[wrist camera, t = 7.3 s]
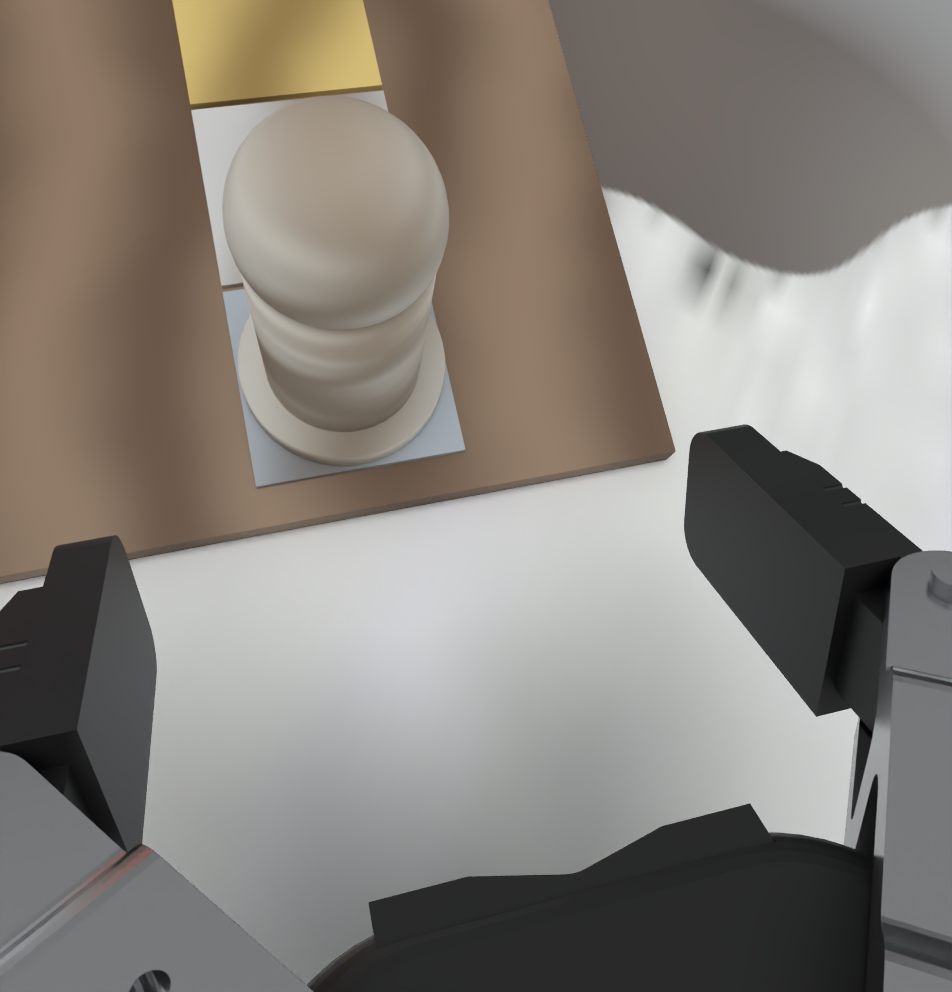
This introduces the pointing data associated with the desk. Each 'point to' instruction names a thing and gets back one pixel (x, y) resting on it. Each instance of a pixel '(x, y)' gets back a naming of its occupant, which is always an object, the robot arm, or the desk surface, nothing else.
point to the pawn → (338, 278)
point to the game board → (218, 283)
